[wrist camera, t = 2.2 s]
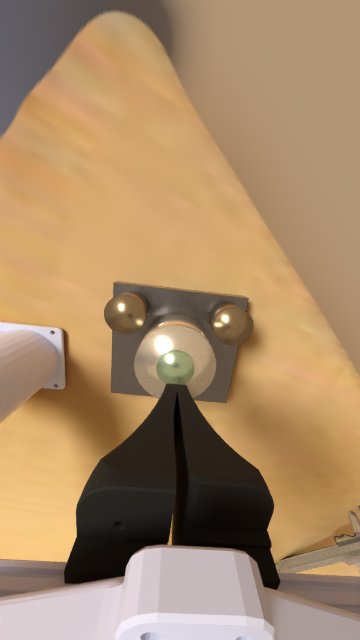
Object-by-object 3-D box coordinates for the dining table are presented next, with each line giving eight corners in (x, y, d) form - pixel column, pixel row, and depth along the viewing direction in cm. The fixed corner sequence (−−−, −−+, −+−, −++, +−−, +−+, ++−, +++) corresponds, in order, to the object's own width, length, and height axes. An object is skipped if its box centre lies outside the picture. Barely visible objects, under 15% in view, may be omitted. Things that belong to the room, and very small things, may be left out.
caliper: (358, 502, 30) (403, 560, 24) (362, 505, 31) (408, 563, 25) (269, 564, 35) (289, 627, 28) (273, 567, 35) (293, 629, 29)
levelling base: (112, 455, 27) (91, 517, 20) (118, 281, 20) (89, 287, 14) (227, 464, 27) (243, 526, 21) (267, 298, 21) (308, 312, 14)
